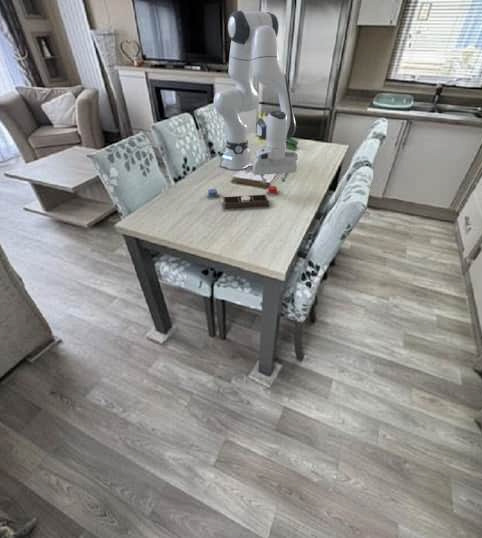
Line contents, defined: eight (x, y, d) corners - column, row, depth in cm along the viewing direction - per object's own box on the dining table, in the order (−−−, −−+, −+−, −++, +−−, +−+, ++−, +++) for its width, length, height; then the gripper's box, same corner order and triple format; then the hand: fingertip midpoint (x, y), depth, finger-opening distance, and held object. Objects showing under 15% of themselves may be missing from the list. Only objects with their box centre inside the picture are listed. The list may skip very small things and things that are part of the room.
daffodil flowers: (288, 154, 193) (244, 131, 200) (292, 160, 207) (250, 138, 214) (302, 129, 189) (256, 107, 196) (305, 137, 203) (262, 115, 210)
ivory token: (240, 202, 136) (240, 196, 135) (249, 201, 137) (249, 195, 135) (241, 206, 133) (241, 200, 131) (250, 205, 134) (251, 199, 132)
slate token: (208, 195, 143) (207, 189, 142) (217, 194, 144) (216, 188, 142) (208, 198, 140) (208, 193, 138) (217, 198, 141) (217, 192, 139)
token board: (223, 203, 137) (223, 196, 135) (265, 200, 140) (265, 194, 138) (224, 210, 132) (224, 203, 130) (268, 207, 134) (268, 201, 132)
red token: (267, 191, 147) (267, 185, 145) (275, 191, 148) (275, 185, 146) (269, 195, 144) (269, 189, 142) (277, 194, 145) (277, 189, 143)
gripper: (296, 149, 137) (293, 178, 146) (252, 151, 135) (252, 180, 143) (300, 153, 132) (296, 183, 141) (254, 155, 130) (254, 186, 138)
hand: (273, 182), depth 142 cm, fingers open, 8 cm apart
